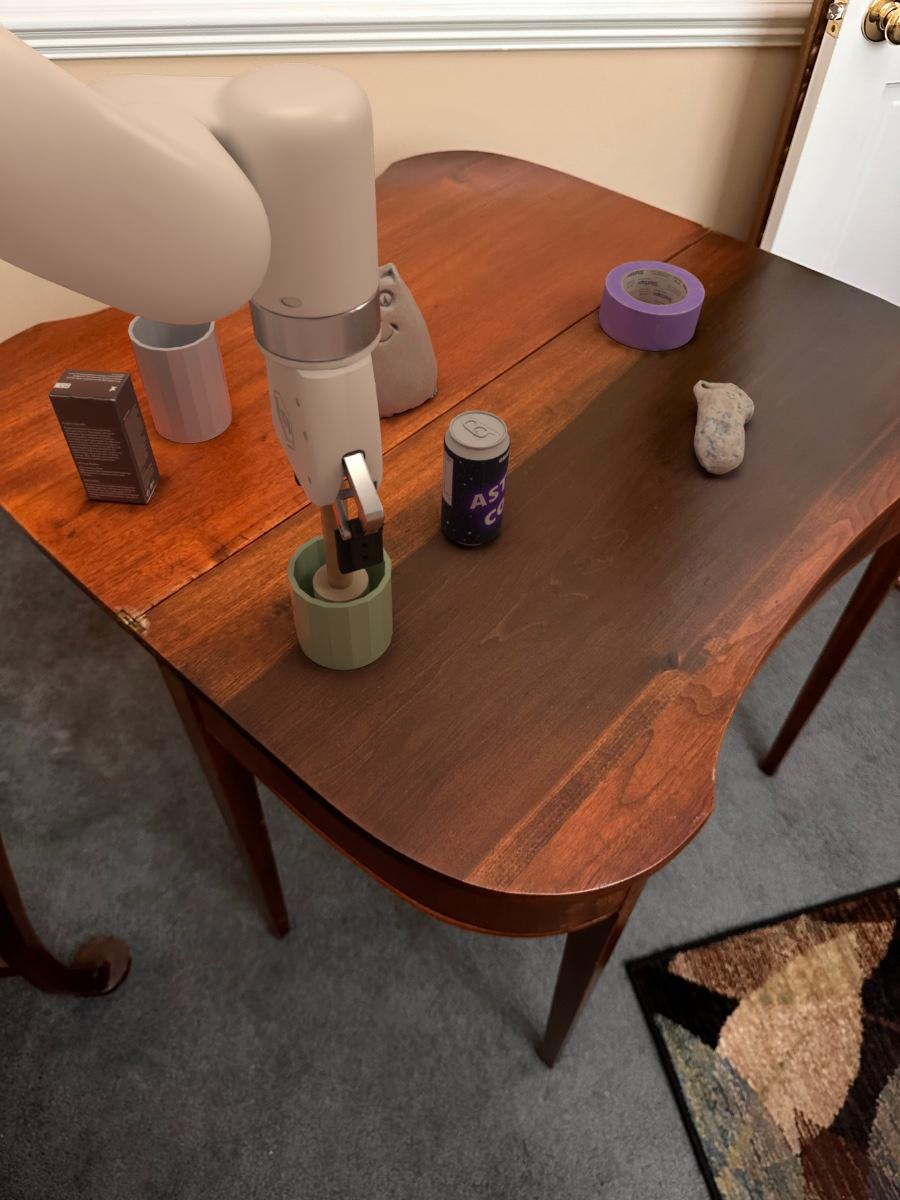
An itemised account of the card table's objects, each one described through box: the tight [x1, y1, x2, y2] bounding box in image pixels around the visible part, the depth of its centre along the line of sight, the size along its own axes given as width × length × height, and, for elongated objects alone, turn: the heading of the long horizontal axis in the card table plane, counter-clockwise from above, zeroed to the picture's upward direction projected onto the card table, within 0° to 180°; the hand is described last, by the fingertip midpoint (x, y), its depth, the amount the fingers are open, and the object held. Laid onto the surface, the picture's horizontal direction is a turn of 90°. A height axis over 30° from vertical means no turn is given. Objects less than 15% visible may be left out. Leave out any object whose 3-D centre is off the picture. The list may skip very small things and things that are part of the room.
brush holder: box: [286, 534, 394, 671], centre depth 71 cm, size 8×8×8 cm
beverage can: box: [440, 410, 511, 546], centre depth 77 cm, size 6×6×12 cm
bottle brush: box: [313, 479, 369, 603], centre depth 67 cm, size 4×4×16 cm
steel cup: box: [127, 316, 233, 444], centre depth 87 cm, size 8×8×11 cm
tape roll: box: [598, 260, 706, 352], centre depth 104 cm, size 12×12×5 cm
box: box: [47, 368, 161, 505], centre depth 80 cm, size 6×4×12 cm
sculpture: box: [371, 262, 439, 419], centre depth 90 cm, size 13×12×15 cm
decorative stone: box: [692, 380, 755, 476], centre depth 90 cm, size 13×7×5 cm, turn 171°
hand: (337, 521), depth 64 cm, fingers open, 9 cm apart
